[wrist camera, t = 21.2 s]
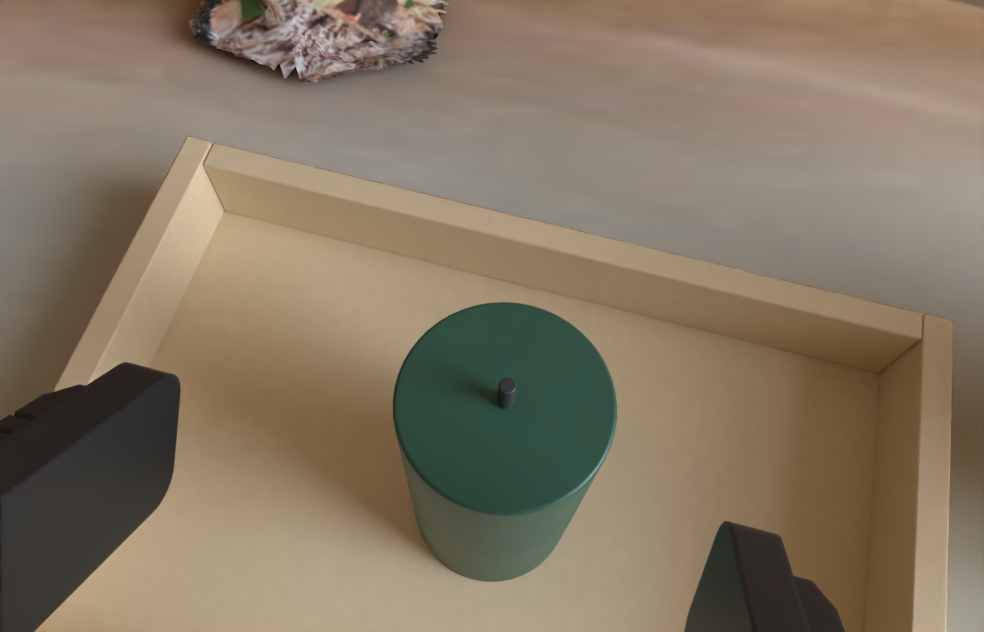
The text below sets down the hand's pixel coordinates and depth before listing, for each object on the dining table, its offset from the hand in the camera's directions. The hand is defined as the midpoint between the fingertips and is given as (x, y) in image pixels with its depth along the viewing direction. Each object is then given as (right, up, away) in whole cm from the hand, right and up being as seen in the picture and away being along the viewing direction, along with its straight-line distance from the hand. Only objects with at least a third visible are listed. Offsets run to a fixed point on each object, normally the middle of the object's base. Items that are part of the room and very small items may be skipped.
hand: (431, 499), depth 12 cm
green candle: (+1, -2, +10) cm, 10 cm away
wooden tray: (+1, -3, +11) cm, 11 cm away
